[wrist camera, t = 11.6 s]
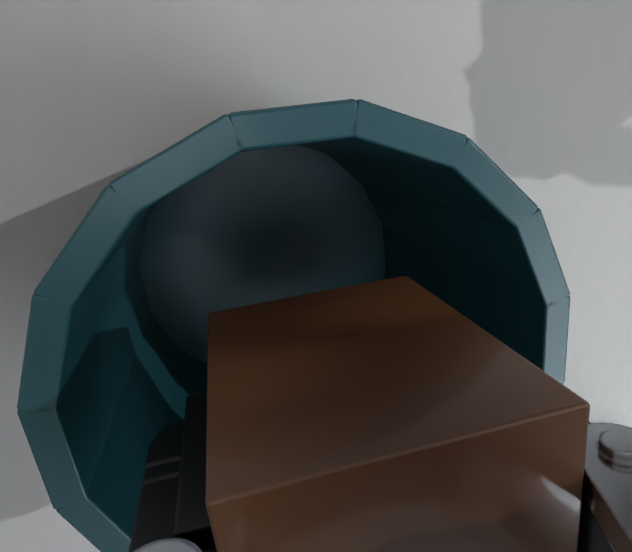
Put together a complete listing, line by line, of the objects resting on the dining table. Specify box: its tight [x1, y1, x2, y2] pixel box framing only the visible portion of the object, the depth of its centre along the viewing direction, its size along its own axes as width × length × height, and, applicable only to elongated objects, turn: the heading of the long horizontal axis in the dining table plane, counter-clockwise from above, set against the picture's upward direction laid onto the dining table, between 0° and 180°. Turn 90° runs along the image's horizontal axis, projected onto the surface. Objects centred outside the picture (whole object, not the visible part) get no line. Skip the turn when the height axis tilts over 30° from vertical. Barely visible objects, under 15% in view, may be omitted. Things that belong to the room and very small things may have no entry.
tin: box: [17, 99, 570, 552], centre depth 16 cm, size 12×12×12 cm
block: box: [205, 276, 590, 552], centre depth 8 cm, size 5×5×6 cm
